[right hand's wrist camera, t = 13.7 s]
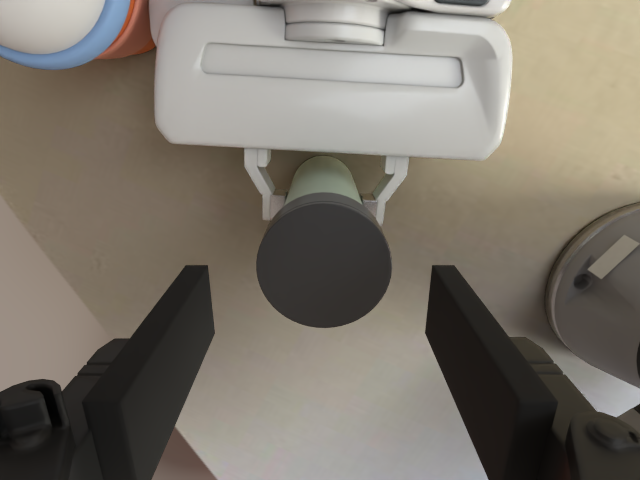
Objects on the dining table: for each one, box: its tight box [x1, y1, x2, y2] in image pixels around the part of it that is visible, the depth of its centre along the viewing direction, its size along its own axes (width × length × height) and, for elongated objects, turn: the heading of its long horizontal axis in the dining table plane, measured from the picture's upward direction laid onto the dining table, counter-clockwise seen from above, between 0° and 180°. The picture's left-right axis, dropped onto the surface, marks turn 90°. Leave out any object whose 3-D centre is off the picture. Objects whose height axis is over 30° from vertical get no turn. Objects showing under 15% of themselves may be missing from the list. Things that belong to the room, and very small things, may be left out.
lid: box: [256, 192, 392, 328], centre depth 18 cm, size 6×6×2 cm
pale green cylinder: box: [284, 156, 362, 206], centre depth 25 cm, size 5×5×16 cm
